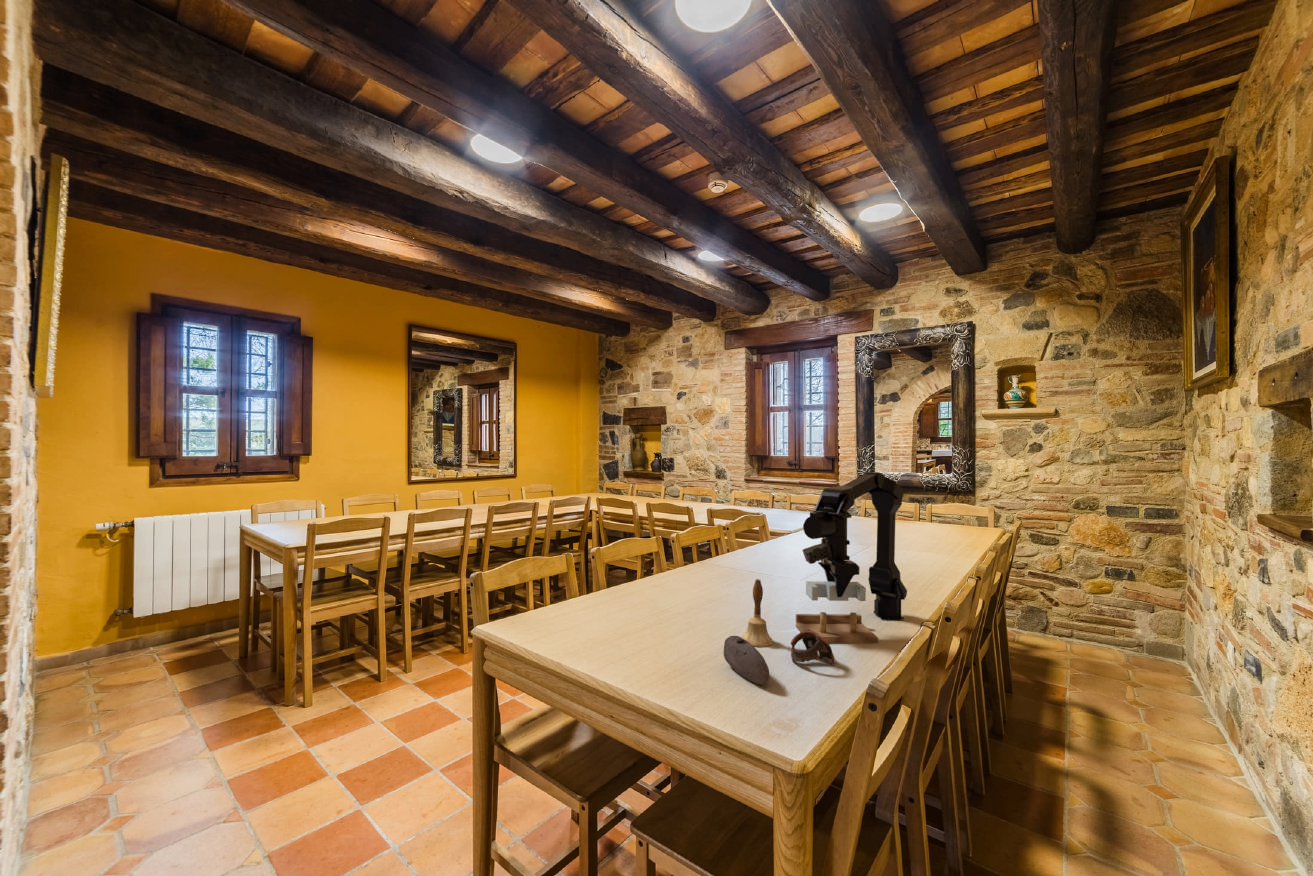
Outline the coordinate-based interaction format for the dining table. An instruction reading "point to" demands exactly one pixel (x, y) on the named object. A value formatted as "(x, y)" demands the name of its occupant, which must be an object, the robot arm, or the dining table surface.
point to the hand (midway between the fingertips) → (835, 593)
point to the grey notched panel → (834, 591)
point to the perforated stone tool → (746, 660)
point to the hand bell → (757, 621)
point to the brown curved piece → (811, 647)
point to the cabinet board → (836, 627)
